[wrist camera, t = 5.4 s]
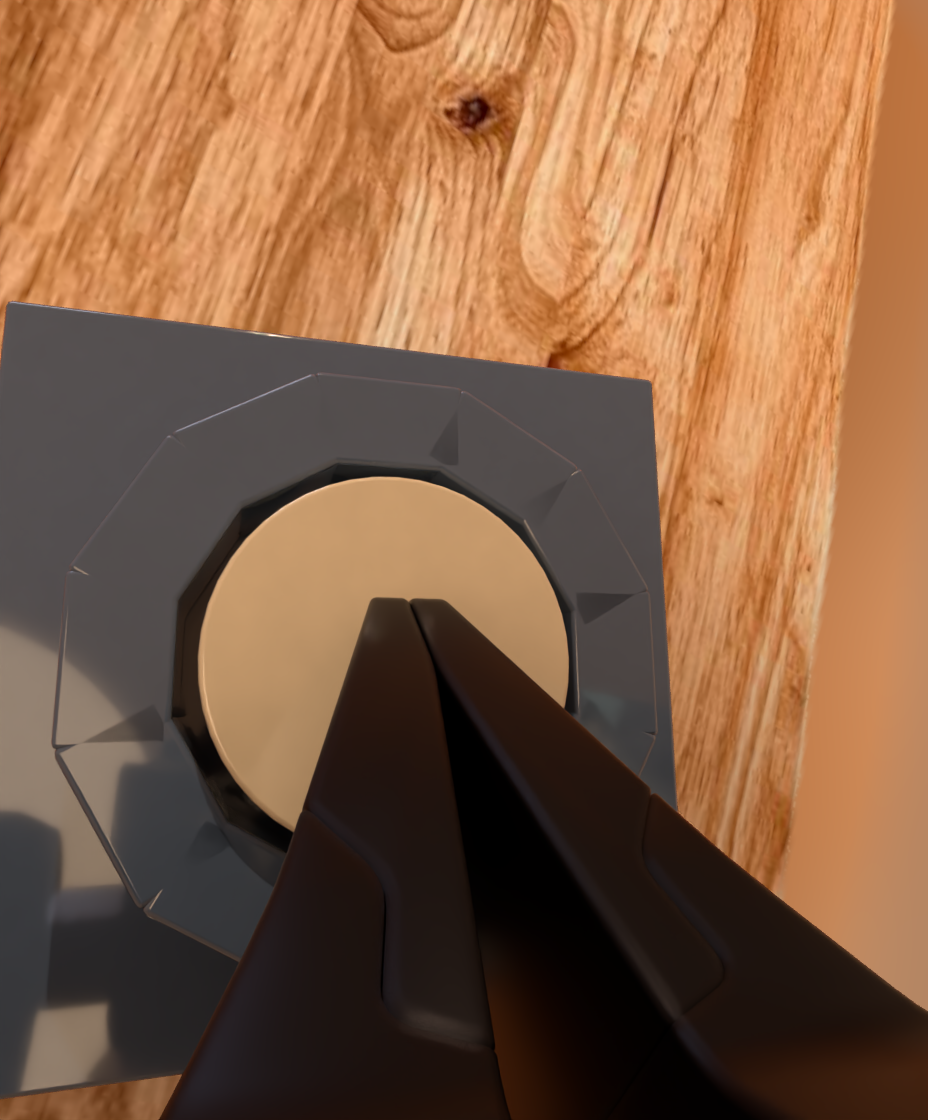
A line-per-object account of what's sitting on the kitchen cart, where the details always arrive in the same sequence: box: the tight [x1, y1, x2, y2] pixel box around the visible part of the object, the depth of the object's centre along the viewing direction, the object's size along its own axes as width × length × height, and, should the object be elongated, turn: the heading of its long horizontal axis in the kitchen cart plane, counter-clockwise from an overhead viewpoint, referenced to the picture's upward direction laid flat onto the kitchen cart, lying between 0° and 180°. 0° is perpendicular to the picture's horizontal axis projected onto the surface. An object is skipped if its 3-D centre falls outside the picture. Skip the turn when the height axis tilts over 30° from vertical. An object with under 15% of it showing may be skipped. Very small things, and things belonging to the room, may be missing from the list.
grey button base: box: [0, 301, 678, 1099], centre depth 13 cm, size 10×10×7 cm
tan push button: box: [198, 477, 569, 833], centre depth 10 cm, size 4×4×2 cm
